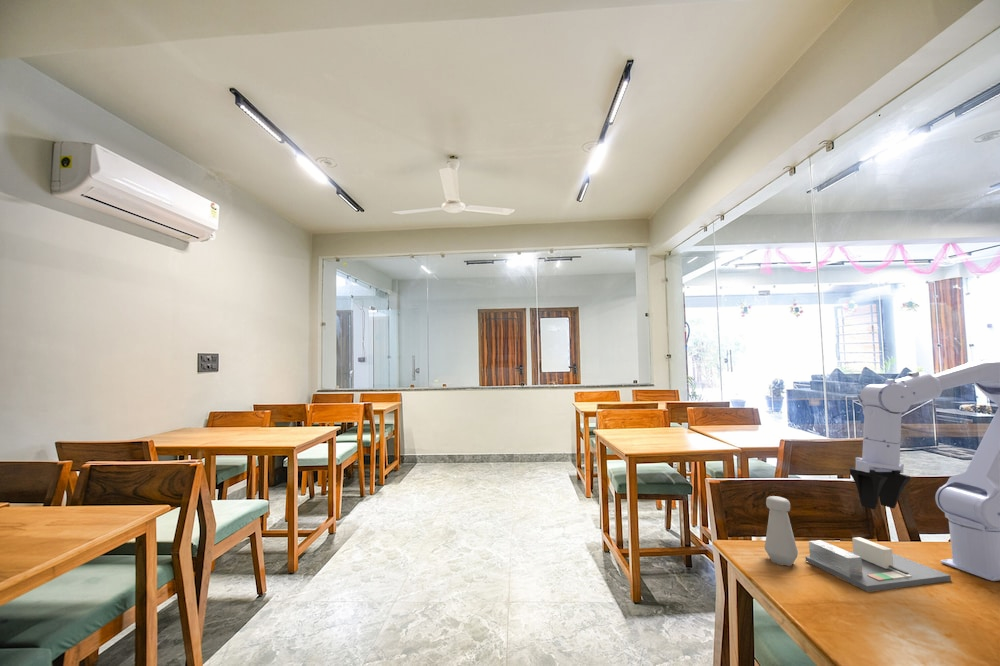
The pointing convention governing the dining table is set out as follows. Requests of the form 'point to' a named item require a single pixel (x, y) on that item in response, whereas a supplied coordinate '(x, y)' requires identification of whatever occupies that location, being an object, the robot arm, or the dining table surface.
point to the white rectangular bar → (874, 553)
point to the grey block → (836, 558)
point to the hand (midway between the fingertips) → (878, 507)
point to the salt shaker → (780, 532)
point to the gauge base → (890, 574)
